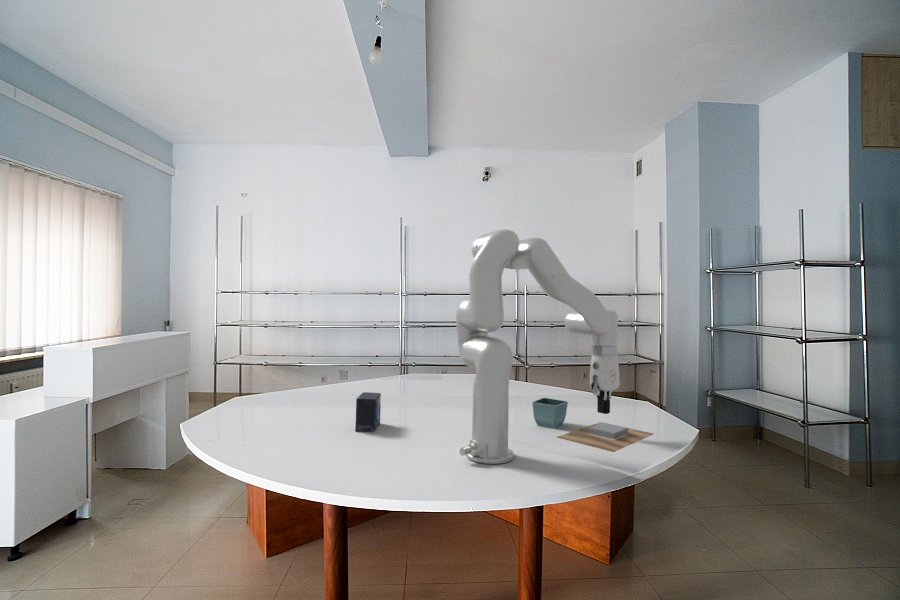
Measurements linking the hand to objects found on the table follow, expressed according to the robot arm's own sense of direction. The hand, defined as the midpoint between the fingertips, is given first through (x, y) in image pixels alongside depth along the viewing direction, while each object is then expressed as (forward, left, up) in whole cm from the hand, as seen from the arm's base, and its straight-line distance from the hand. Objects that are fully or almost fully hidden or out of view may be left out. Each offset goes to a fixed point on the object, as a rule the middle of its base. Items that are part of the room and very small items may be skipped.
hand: (603, 412), depth 140 cm
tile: (-1, 0, -6) cm, 6 cm away
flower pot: (-1, +18, -9) cm, 20 cm away
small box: (-44, +58, -9) cm, 73 cm away
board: (+2, 0, -8) cm, 8 cm away
